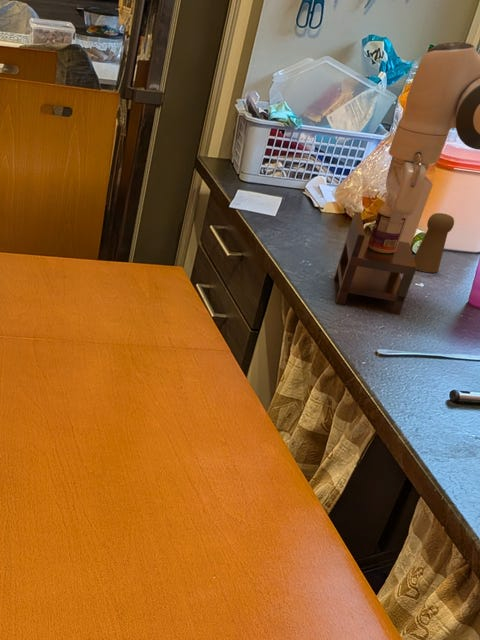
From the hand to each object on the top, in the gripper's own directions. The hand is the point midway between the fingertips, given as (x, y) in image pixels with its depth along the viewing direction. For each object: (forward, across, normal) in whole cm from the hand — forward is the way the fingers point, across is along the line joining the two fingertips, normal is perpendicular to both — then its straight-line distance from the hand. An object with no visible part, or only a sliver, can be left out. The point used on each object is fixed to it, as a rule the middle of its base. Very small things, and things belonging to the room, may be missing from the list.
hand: (388, 227), depth 177 cm
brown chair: (+13, 0, 0) cm, 13 cm away
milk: (+13, +16, -4) cm, 21 cm away
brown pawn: (+13, +26, -14) cm, 32 cm away
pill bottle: (+4, 0, 0) cm, 4 cm away
